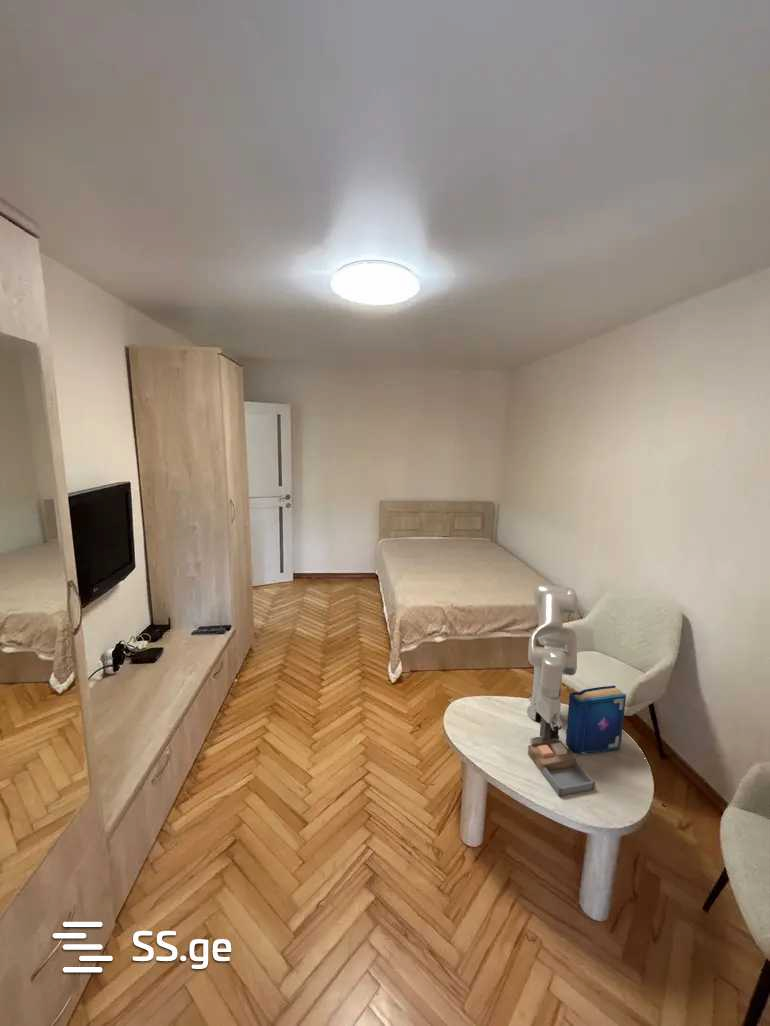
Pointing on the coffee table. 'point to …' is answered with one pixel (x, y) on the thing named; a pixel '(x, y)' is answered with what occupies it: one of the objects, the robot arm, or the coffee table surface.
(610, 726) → the book
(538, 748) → the tile terracotta
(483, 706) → the coffee table surface
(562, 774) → the box
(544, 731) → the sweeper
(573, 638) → the robot arm
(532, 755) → the brown tray
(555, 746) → the tile cream
